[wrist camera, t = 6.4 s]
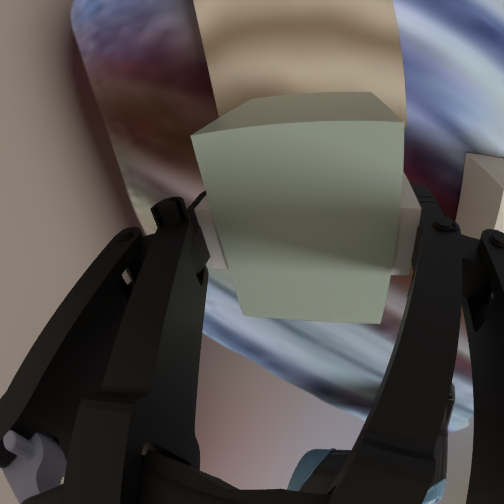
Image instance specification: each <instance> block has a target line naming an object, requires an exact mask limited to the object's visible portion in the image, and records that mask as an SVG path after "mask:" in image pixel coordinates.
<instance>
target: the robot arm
mask: <svg viewBox="0 0 504 504" xmlns="http://www.w3.org/2000/svg"><path fill="white" fill-rule="evenodd" d="M151 212H152V215H153V217H154V220H155V222H156V225H157V227H158V228H157V230H156V233H155V234H151V235H147V236H143V234H142V232H141V230H140V229H139V228H138V227H131V228H126V229H124V230H122V231H121V232H120V233H118V234H117V235H116V236H115V237H114V238H113V239H112V240H111V241H110V242H109V244H108V245H107V246H106V247H105V248H104V249H103V251H102V252H101V253H100V254H99V255H98V257H97V258H96V259H95V260H94V261H93V263H92V264H91V265H90V266H89V268H88V269H87V270H86V271H85V273H84V274H83V275H82V277H81V278H80V279H79V280H78V282H77V283H76V284H75V286H74V287H73V288H72V290H71V291H70V292H69V294H68V295H67V296H66V298H65V299H64V301H63V302H62V303H61V305H60V306H59V307H58V309H57V310H56V312H55V313H54V315H53V316H52V317H51V319H50V320H49V322H48V323H47V325H46V326H45V328H44V329H43V331H42V332H41V334H40V335H39V337H38V338H37V340H36V342H35V343H34V345H33V346H32V348H31V349H30V351H29V353H28V354H27V356H26V358H25V359H24V361H23V363H22V365H21V366H20V368H19V370H18V371H17V373H16V375H15V377H14V378H13V380H12V382H11V384H10V386H9V388H8V390H7V391H6V393H5V394H4V395H3V396H2V397H1V399H0V468H1V469H2V470H3V472H4V474H5V476H6V478H7V481H8V482H9V485H10V487H11V488H12V490H13V492H14V494H15V496H16V498H17V500H18V501H19V503H20V504H436V503H438V502H439V501H440V500H441V498H442V496H443V494H444V487H445V481H446V480H447V477H446V473H447V452H448V425H449V421H450V418H451V414H452V410H453V406H454V402H455V388H454V385H453V384H452V378H453V373H454V367H455V361H456V354H457V347H458V339H459V330H460V318H461V303H462V308H463V313H464V318H465V324H466V329H467V336H468V342H469V350H470V358H471V367H472V379H473V396H474V438H473V454H472V465H471V474H470V481H469V488H468V494H467V500H466V504H504V233H503V232H500V231H499V230H494V229H486V230H484V231H483V232H482V234H481V237H480V240H479V239H476V238H472V237H469V236H466V235H463V234H461V230H460V227H459V225H458V224H457V223H456V222H455V221H454V220H452V219H450V218H448V217H445V216H444V214H443V212H442V211H441V209H440V207H439V205H438V203H437V201H436V199H435V198H434V196H433V194H432V192H431V191H430V190H429V189H428V188H426V187H425V186H424V185H417V184H410V183H409V181H408V179H407V177H406V175H405V173H404V171H403V182H402V195H401V206H400V216H399V225H398V233H397V240H396V247H395V253H394V260H393V265H392V271H391V275H409V273H410V269H411V264H412V267H413V271H414V273H413V277H412V281H411V285H410V289H409V292H408V296H407V297H408V299H407V303H406V307H405V311H404V314H403V318H402V322H401V325H400V329H399V332H398V336H397V339H396V342H395V345H394V349H393V352H392V355H391V358H390V361H389V364H388V366H387V369H386V372H385V375H384V378H383V380H382V383H381V386H380V388H379V391H378V393H377V396H376V398H375V401H374V403H373V405H372V408H371V410H370V412H369V415H368V417H367V419H366V421H365V424H364V426H363V428H362V430H361V432H360V434H359V436H358V438H357V441H356V443H355V445H354V447H353V448H352V450H336V449H329V450H328V449H327V450H326V449H313V450H311V451H308V452H307V453H306V454H305V455H304V456H303V457H302V458H301V460H300V461H299V463H298V465H297V467H296V468H295V471H294V473H293V475H292V478H291V480H290V482H289V485H288V488H287V490H285V489H267V490H239V489H237V488H236V487H233V486H232V485H230V484H228V483H226V482H224V481H223V480H221V479H219V478H216V477H214V476H211V475H209V474H207V473H204V472H202V471H200V450H199V445H198V442H197V439H196V437H195V428H194V427H195V412H196V398H197V385H198V372H199V361H200V349H201V339H202V329H203V319H204V310H205V301H206V292H207V283H208V275H209V274H208V269H207V266H206V263H207V261H208V259H209V258H210V259H211V262H212V265H213V268H214V269H229V268H228V265H227V261H226V258H225V255H224V252H223V248H222V245H221V242H220V238H219V235H218V232H217V228H216V225H215V221H214V218H213V215H212V211H211V208H210V204H209V201H208V197H207V194H206V190H205V191H204V192H202V193H201V194H200V195H199V196H198V197H197V198H196V199H195V201H194V202H193V203H192V204H191V205H190V206H189V207H188V209H186V206H185V203H184V199H183V198H181V197H170V198H167V199H164V200H162V201H160V202H158V203H156V204H155V205H154V206H153V207H152V208H151ZM125 270H126V272H127V274H128V276H129V277H130V279H131V282H130V283H129V284H128V285H127V284H126V283H125V281H124V279H123V277H122V274H123V272H124V271H125ZM62 477H64V483H63V484H61V485H60V483H61V479H62Z"/></svg>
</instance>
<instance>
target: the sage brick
mask: <svg viewBox="0 0 504 504" xmlns="http://www.w3.org/2000/svg"><path fill="white" fill-rule="evenodd" d="M191 140H192V144H193V147H194V151H195V155H196V158H197V162H198V165H199V169H200V173H201V176H202V180H203V183H204V187H205V190H206V194H207V197H208V201H209V204H210V208H211V211H212V215H213V218H214V221H215V225H216V228H217V232H218V235H219V238H220V242H221V245H222V248H223V252H224V255H225V258H226V261H227V265H228V268H229V271H230V274H231V278H232V281H233V284H234V287H235V290H236V294H237V297H238V300H239V303H240V306H241V309H242V313H243V315H245V316H255V317H266V318H278V319H291V320H305V321H322V322H342V323H373V324H380V322H381V318H382V314H383V310H384V306H385V301H386V297H387V292H388V287H389V282H390V277H391V271H392V265H393V260H394V253H395V247H396V240H397V233H398V225H399V216H400V206H401V195H402V182H403V163H404V122H403V121H402V120H401V119H400V118H399V117H398V116H397V115H396V114H395V113H394V112H393V111H392V110H391V109H390V108H389V107H388V106H386V105H385V104H384V103H383V102H382V101H381V100H380V99H379V98H378V97H377V96H375V95H374V94H373V93H372V92H319V93H302V94H290V95H279V96H270V97H262V98H254V99H251V100H249V101H247V102H245V103H244V104H242V105H240V106H238V107H237V108H235V109H233V110H231V111H230V112H228V113H226V114H224V115H223V116H221V117H219V118H218V119H216V120H214V121H213V122H211V123H210V124H208V125H206V126H205V127H203V128H202V129H200V130H198V131H197V132H195V133H194V134H192V135H191Z"/></svg>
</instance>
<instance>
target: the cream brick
mask: <svg viewBox="0 0 504 504" xmlns="http://www.w3.org/2000/svg"><path fill="white" fill-rule="evenodd" d="M455 222H456V223H457V224H458V225H459V227H460V230H461V234H463V235H466V236H469V237H472V238H476V239H479V240H480V237H481V234H482V232H483V231H484V230H486V229H494V230H499V231H500V232H503V233H504V158H498V157H492V156H486V155H480V154H473V153H466V155H465V164H464V173H463V180H462V187H461V194H460V200H459V205H458V211H457V216H456V220H455Z"/></svg>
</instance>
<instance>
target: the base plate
mask: <svg viewBox="0 0 504 504" xmlns="http://www.w3.org/2000/svg"><path fill="white" fill-rule="evenodd" d="M193 2H194V6H195V11H196V15H197V20H198V24H199V29H200V34H201V38H202V43H203V47H204V52H205V56H206V61H207V65H208V70H209V74H210V79H211V83H212V88H213V93H214V97H215V102H216V106H217V111H218V115H219V117H221V116H223V115H224V114H226V113H228V112H230V111H231V110H233V109H235V108H237V107H238V106H240V105H242V104H244V103H245V102H247V101H249V100H251V99H254V98H262V97H270V96H279V95H290V94H302V93H319V92H372V93H373V94H374V95H375V96H377V97H378V98H379V99H380V100H381V101H382V102H383V103H384V104H385V105H386V106H388V107H389V108H390V109H391V110H392V111H393V112H394V113H395V114H396V115H397V116H398V117H399V118H400V119H401V120H402V121H403V122H404V127H406V97H405V82H404V70H403V61H402V52H401V45H400V38H399V32H398V26H397V20H396V15H395V10H394V5H393V1H392V0H193Z"/></svg>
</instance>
